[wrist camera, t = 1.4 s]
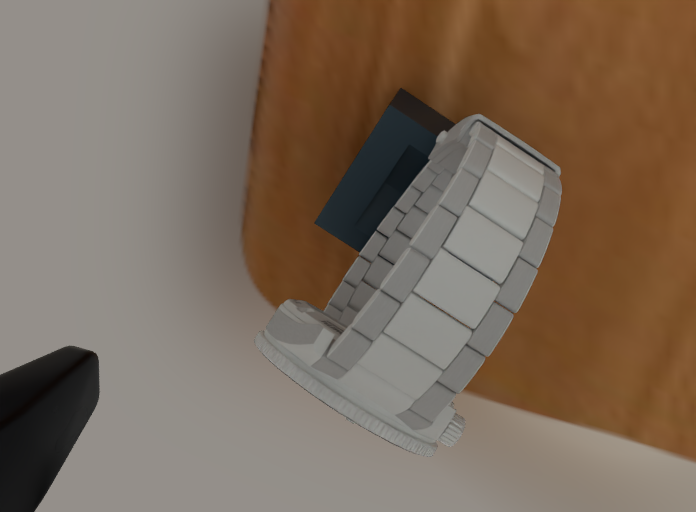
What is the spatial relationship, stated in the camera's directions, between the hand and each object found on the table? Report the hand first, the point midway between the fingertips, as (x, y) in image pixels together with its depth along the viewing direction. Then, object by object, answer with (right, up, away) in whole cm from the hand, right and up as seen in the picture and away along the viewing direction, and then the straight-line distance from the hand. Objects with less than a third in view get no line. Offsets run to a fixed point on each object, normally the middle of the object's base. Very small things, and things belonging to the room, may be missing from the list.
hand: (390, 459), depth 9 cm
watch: (+2, +5, +12) cm, 14 cm away
